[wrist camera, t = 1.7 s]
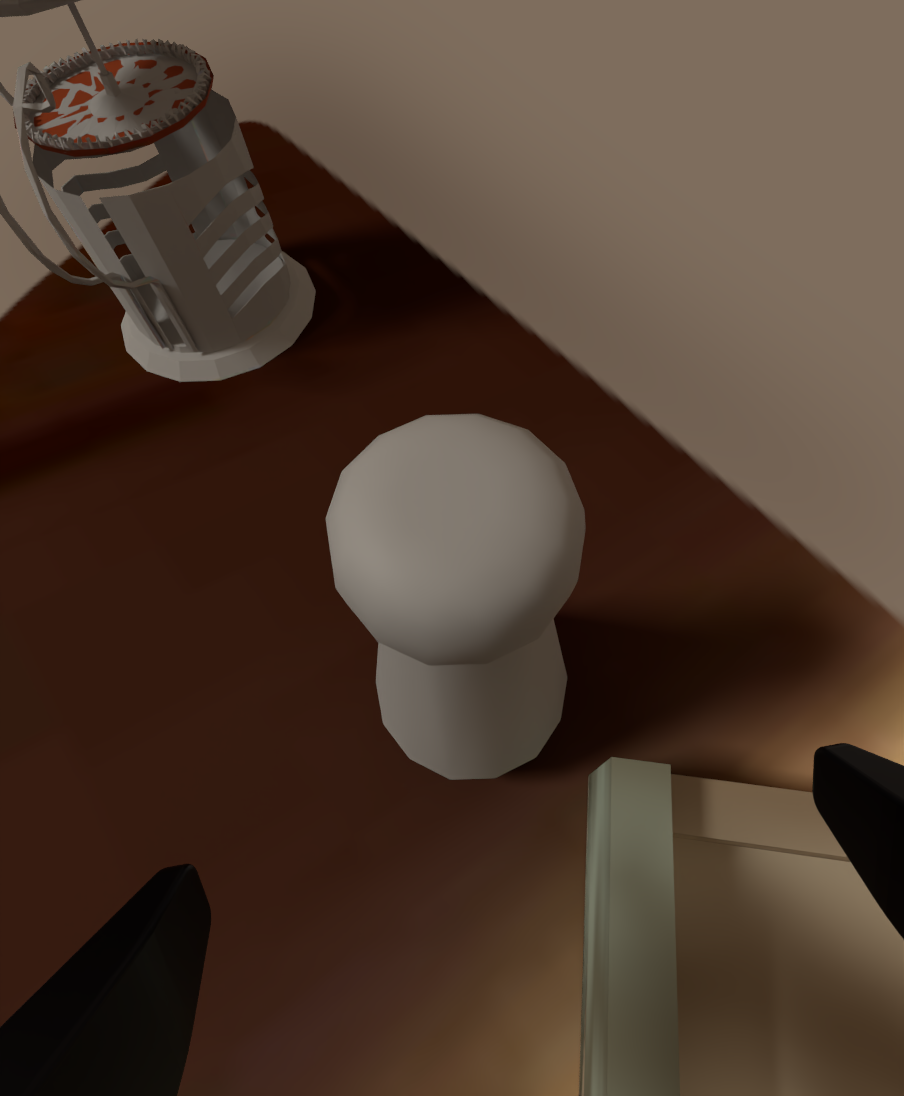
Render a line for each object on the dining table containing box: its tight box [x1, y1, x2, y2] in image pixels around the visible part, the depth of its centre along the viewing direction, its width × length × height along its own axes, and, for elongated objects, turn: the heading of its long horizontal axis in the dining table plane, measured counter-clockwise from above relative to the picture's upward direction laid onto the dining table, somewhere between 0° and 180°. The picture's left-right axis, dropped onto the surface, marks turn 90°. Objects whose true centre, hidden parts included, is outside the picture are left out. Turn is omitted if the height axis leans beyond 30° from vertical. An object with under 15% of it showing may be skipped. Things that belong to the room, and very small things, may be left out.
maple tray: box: [579, 757, 904, 1096], centre depth 14 cm, size 12×12×4 cm
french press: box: [0, 0, 316, 382], centre depth 19 cm, size 10×12×25 cm
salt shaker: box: [326, 414, 585, 780], centre depth 15 cm, size 6×6×13 cm
